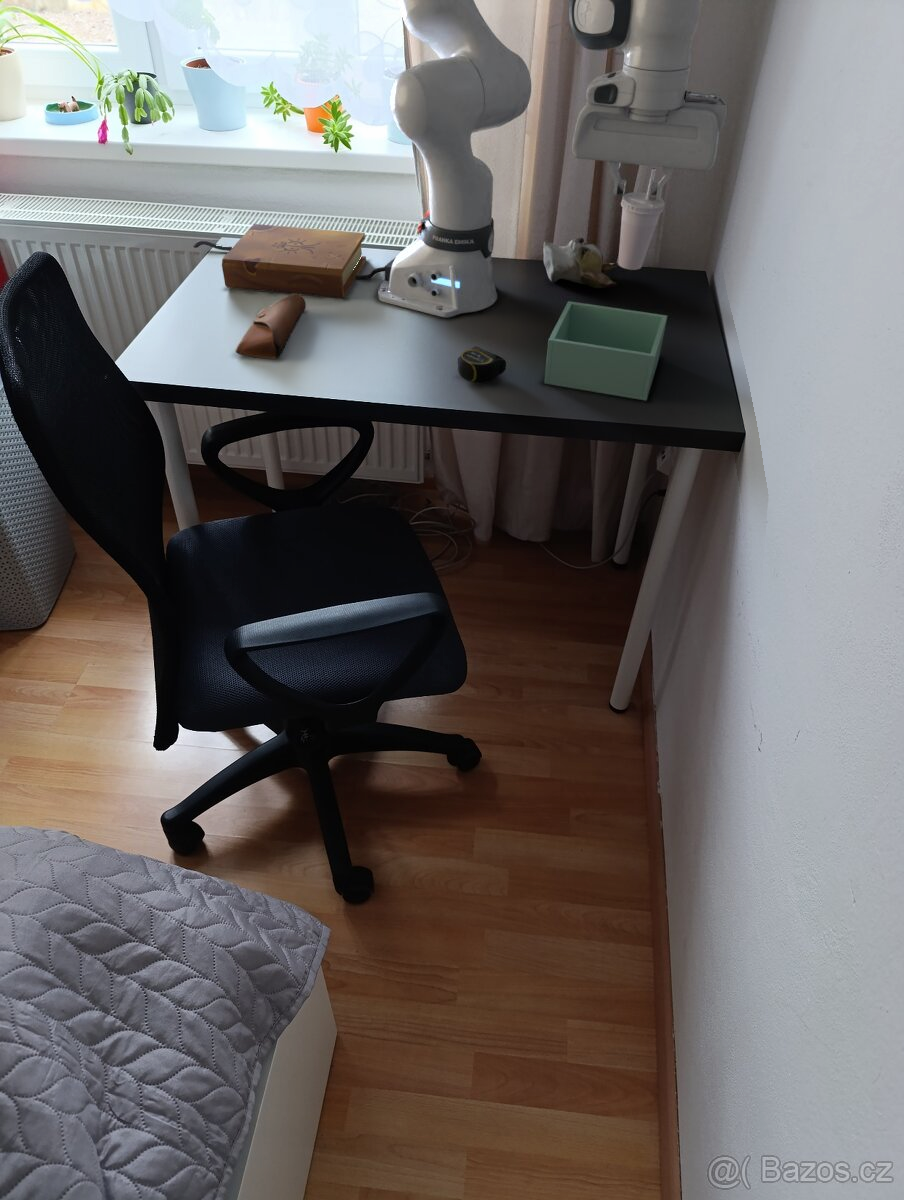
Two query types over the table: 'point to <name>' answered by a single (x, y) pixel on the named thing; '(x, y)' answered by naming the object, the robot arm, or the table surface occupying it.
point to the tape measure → (480, 365)
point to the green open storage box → (605, 350)
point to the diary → (294, 261)
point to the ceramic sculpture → (577, 263)
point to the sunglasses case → (272, 328)
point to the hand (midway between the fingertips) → (636, 196)
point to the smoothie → (638, 226)
